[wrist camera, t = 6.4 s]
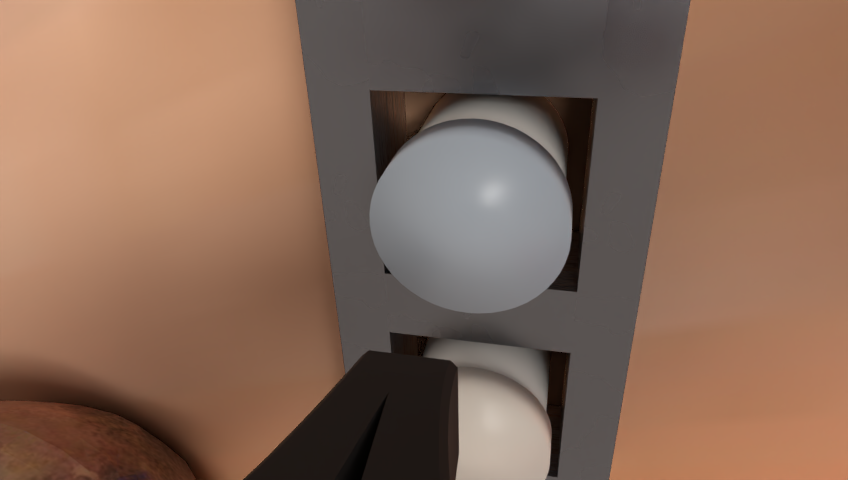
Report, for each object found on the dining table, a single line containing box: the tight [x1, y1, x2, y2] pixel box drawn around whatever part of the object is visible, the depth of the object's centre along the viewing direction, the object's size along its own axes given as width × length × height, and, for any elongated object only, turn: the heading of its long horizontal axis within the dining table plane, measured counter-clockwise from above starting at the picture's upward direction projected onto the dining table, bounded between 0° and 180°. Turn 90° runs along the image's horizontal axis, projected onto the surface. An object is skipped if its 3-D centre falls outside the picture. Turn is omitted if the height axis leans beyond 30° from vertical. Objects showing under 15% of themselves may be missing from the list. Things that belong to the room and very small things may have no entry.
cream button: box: [422, 337, 552, 480], centre depth 19 cm, size 4×4×4 cm
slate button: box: [369, 93, 573, 314], centre depth 16 cm, size 4×4×4 cm
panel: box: [295, 0, 690, 480], centre depth 17 cm, size 8×24×3 cm, turn 2°
